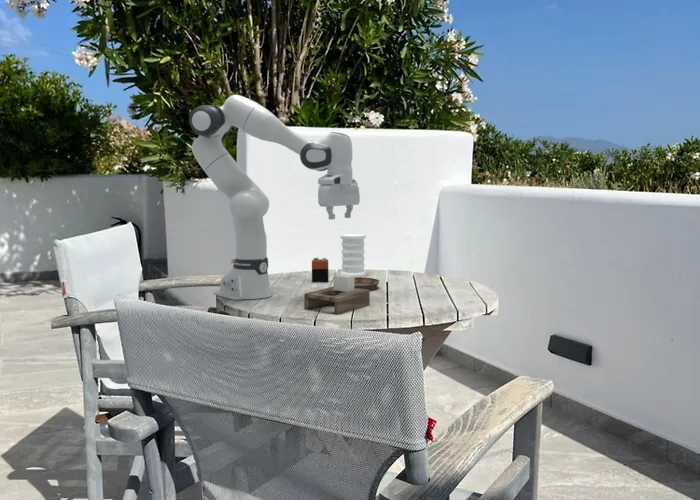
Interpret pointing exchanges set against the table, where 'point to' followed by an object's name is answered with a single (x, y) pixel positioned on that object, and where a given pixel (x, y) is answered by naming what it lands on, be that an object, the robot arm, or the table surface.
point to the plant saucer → (365, 283)
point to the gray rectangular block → (343, 282)
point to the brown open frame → (338, 299)
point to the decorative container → (353, 255)
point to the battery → (319, 270)
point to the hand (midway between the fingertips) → (339, 218)
